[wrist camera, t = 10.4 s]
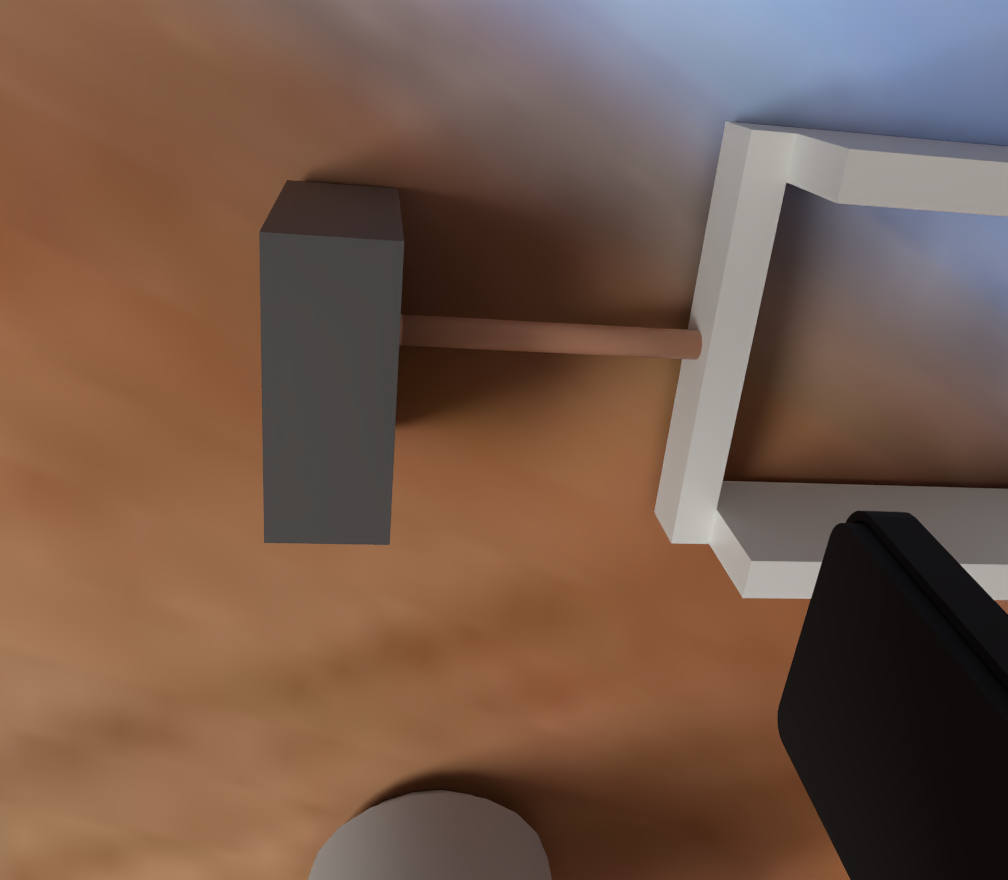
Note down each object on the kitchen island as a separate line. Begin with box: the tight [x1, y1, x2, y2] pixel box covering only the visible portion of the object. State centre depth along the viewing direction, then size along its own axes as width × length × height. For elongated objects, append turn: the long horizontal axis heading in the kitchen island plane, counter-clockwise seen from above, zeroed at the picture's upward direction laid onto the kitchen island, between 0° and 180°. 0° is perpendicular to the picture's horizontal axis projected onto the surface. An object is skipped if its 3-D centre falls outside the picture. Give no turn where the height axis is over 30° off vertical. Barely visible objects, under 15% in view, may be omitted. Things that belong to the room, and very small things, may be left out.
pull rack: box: [259, 121, 1008, 600], centre depth 21 cm, size 10×26×6 cm, turn 85°
